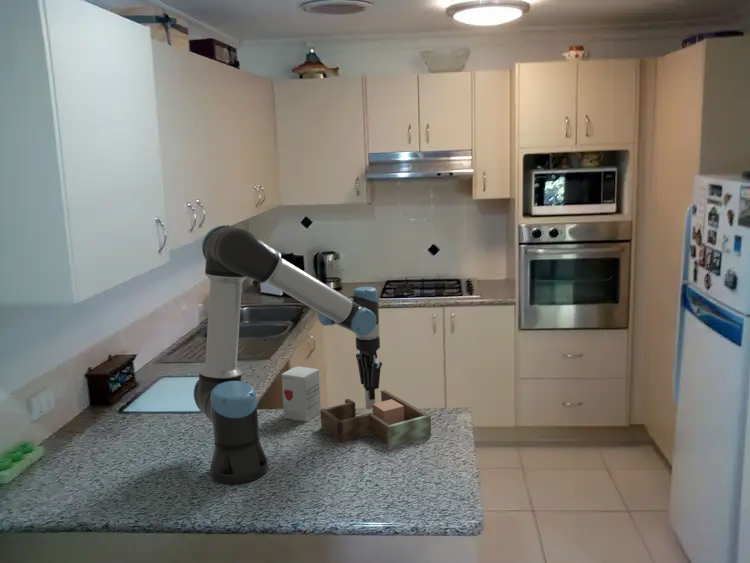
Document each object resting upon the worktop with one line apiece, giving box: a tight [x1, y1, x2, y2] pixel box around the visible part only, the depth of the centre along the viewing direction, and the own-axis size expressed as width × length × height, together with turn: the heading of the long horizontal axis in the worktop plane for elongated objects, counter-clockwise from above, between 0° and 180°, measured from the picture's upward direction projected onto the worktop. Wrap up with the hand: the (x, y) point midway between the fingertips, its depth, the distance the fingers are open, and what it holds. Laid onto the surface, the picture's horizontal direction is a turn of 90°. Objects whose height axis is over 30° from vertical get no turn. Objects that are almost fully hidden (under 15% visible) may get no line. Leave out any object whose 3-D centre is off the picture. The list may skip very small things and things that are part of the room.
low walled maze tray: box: [344, 389, 432, 448], centre depth 207 cm, size 14×27×6 cm, turn 30°
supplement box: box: [280, 365, 322, 423], centre depth 217 cm, size 9×9×15 cm
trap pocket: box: [320, 403, 371, 443], centre depth 205 cm, size 11×12×6 cm
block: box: [372, 399, 404, 425], centre depth 207 cm, size 7×7×7 cm
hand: (370, 407), depth 216 cm, fingers closed
